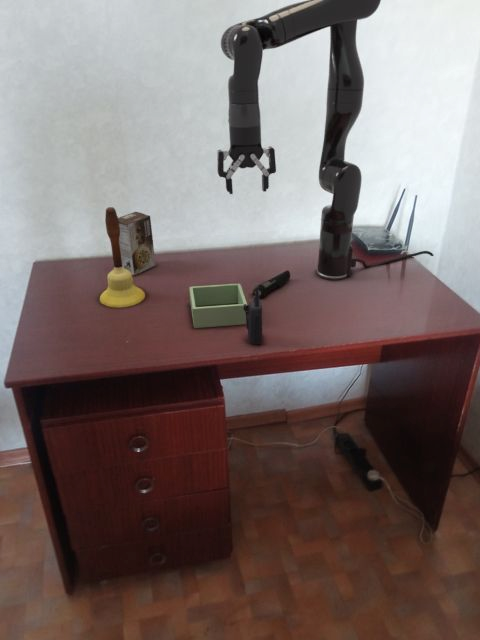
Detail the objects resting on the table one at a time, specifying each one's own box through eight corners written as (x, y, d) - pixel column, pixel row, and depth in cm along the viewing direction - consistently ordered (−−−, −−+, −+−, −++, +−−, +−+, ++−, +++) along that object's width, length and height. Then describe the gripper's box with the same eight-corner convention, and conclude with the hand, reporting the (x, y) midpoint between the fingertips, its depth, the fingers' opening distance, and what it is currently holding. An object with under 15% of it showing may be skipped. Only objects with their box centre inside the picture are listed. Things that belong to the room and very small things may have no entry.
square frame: (240, 301, 151) (240, 283, 148) (247, 324, 140) (247, 304, 137) (190, 305, 149) (189, 286, 146) (193, 328, 138) (192, 308, 135)
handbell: (154, 293, 154) (145, 206, 140) (123, 311, 145) (110, 219, 132) (121, 283, 159) (109, 198, 146) (89, 300, 150) (74, 210, 137)
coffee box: (141, 261, 173) (136, 210, 165) (156, 266, 170) (151, 215, 161) (119, 270, 167) (112, 218, 158) (134, 275, 164) (127, 223, 155)
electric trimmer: (293, 281, 162) (293, 271, 161) (261, 299, 152) (262, 289, 150) (282, 278, 164) (283, 268, 163) (251, 295, 154) (251, 285, 152)
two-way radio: (262, 345, 131) (263, 289, 123) (244, 346, 131) (243, 289, 123) (261, 334, 136) (261, 278, 128) (243, 334, 136) (242, 279, 128)
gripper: (216, 127, 126) (221, 198, 134) (277, 123, 128) (278, 193, 136) (213, 122, 132) (217, 190, 140) (271, 119, 134) (272, 186, 142)
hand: (247, 192), depth 138 cm, fingers open, 8 cm apart
